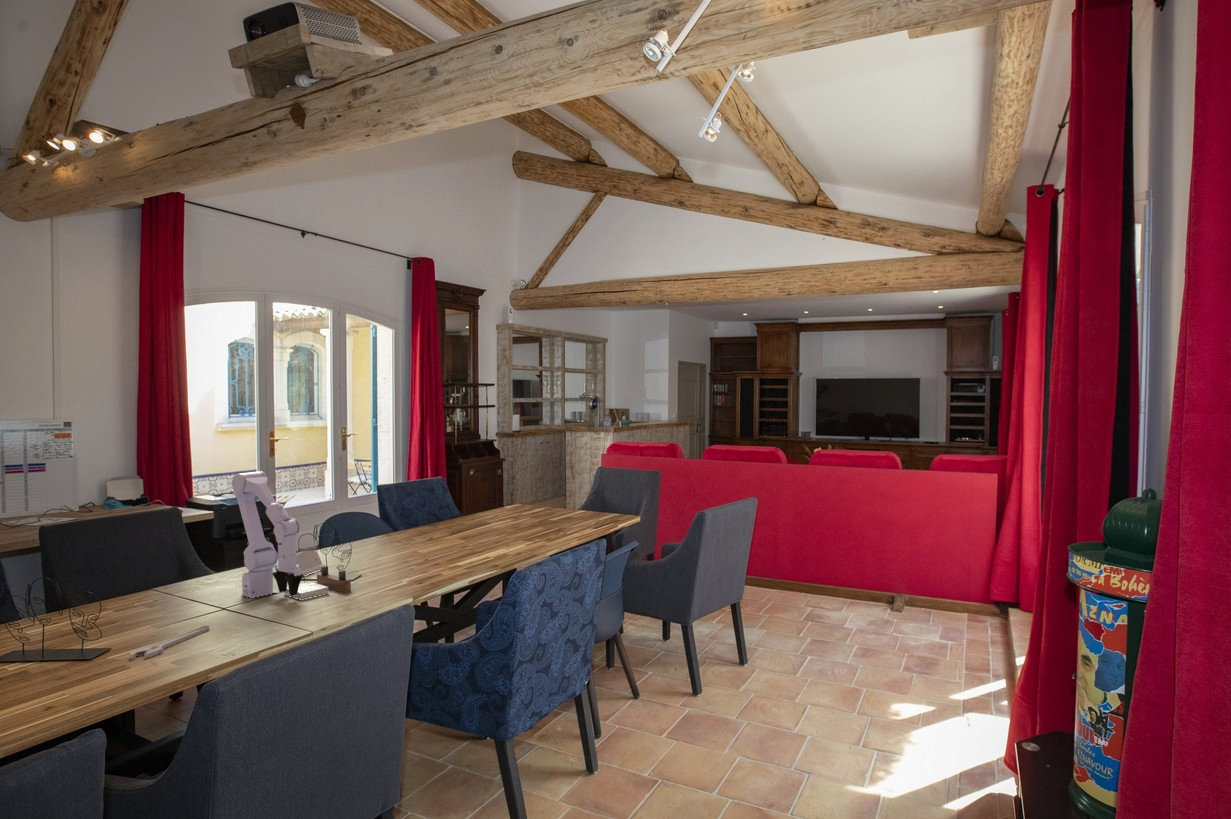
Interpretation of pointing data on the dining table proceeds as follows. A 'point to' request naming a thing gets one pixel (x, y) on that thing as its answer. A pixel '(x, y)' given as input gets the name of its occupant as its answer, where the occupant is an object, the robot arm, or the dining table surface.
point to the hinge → (308, 562)
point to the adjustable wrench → (166, 643)
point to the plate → (308, 590)
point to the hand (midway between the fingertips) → (288, 593)
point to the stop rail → (334, 580)
